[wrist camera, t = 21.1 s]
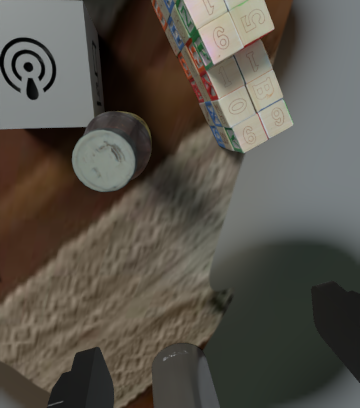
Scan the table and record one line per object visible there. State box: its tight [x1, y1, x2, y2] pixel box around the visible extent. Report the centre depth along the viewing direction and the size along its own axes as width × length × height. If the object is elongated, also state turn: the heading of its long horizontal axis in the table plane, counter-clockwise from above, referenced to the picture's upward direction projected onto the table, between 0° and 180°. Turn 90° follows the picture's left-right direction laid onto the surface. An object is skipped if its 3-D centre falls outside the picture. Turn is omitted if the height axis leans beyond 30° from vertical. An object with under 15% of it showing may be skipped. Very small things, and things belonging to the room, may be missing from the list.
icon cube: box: [0, 0, 105, 129], centre depth 30 cm, size 10×10×10 cm
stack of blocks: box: [151, 0, 294, 153], centre depth 30 cm, size 21×6×12 cm, turn 28°
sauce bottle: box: [72, 111, 152, 192], centre depth 28 cm, size 7×6×20 cm
